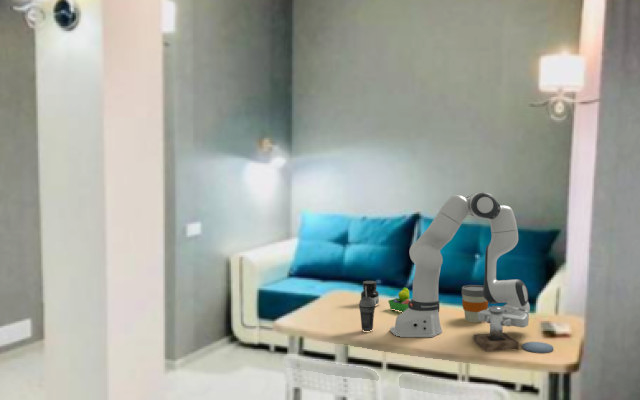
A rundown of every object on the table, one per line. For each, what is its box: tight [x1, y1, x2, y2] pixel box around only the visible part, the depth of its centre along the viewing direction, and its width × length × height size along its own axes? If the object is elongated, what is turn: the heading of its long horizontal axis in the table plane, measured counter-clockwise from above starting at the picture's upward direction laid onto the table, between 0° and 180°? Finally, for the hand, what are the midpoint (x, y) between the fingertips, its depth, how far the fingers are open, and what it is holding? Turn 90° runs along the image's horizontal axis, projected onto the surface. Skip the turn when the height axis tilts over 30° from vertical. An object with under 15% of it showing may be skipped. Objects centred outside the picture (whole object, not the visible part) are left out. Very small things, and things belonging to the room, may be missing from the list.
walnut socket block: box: [472, 332, 519, 352], centre depth 289 cm, size 14×14×3 cm
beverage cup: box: [358, 286, 376, 331], centre depth 311 cm, size 7×7×20 cm
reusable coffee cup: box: [461, 284, 489, 323], centre depth 328 cm, size 13×12×15 cm
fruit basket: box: [387, 287, 410, 312], centre depth 346 cm, size 11×9×11 cm
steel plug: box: [488, 305, 504, 341], centre depth 288 cm, size 6×6×14 cm
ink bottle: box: [360, 280, 380, 305], centre depth 357 cm, size 10×9×12 cm
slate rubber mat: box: [521, 341, 554, 354], centre depth 285 cm, size 12×12×1 cm
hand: (495, 322), depth 287 cm, fingers closed on steel plug, 5 cm apart
